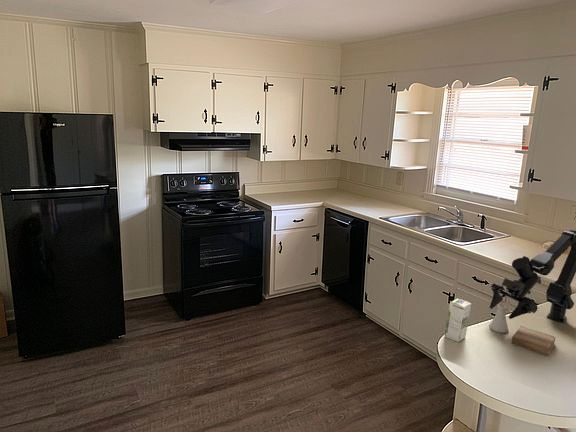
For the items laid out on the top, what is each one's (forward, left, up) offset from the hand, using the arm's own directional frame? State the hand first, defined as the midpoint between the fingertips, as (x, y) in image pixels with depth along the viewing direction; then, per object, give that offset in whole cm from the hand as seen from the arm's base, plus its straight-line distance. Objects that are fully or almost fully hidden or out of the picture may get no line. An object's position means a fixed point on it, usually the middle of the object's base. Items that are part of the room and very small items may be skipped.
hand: (499, 313), depth 175 cm
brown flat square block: (+2, +13, -7) cm, 15 cm away
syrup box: (+19, -10, -7) cm, 23 cm away
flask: (-1, 0, -7) cm, 7 cm away
